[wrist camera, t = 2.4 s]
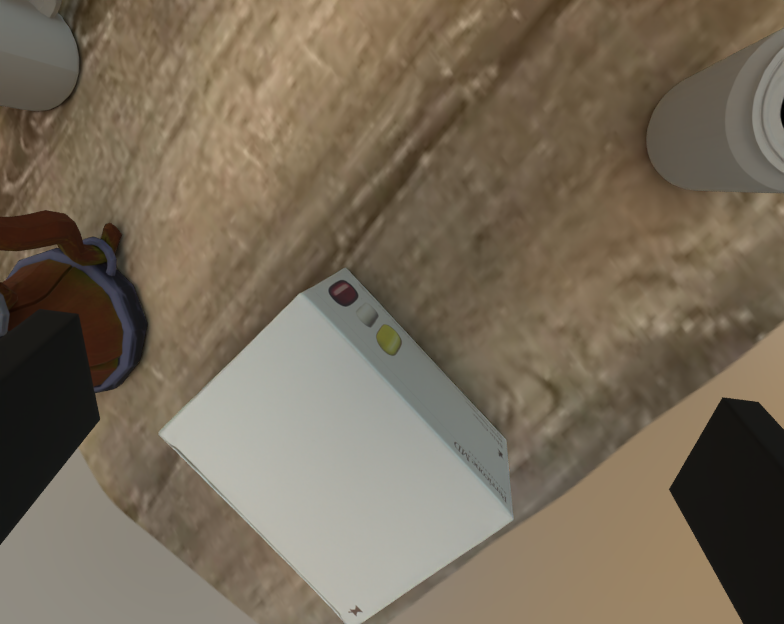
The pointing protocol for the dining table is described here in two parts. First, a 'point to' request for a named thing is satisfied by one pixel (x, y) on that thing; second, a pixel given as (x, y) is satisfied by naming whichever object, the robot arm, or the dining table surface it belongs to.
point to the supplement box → (347, 450)
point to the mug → (75, 290)
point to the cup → (35, 55)
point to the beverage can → (725, 124)
